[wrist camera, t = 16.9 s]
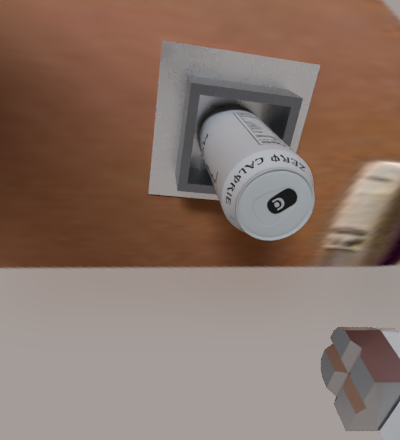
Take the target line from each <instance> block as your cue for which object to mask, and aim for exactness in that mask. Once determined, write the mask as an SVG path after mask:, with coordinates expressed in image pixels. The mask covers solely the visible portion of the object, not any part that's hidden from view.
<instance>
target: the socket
mask: <svg viewBox="0 0 400 440" xmlns="http://www.w3.org/2000/svg"><path fill="white" fill-rule="evenodd" d="M319 69H320V65H318V64H311V63H305V62H298V61H292V60H286V59H279V58H273V57H266V56H260V55H254V54H247V53H241V52H234V51H228V50H222V49H215V48H209V47H202V46H196V45H190V44H183V43H177V42H170V41H164V40H162V50H161V61H160V72H159V83H158V94H157V105H156V116H155V127H154V138H153V149H152V160H151V171H150V182H149V193H148V194H155V195H166V196H177V197H188V198H199V199H210V200H219V199H218V196H217V193H216V191H215V188H214V185H213V183H212V180H211V177H210V175H209V172H208V169H207V167H206V164H205V161H204V159H203V156H202V153H201V151H200V147H199V140H198V139H199V132H200V129H201V126H202V124H203V122H204V121H205V120H206V118H207V117H208V116H209V115H210V114H211V113H212V112H214V111H215V110H217V109H219V108H222V107H225V106H231V105H235V106H241V107H244V108H247V109H248V110H250V111H251V112H253V113H254V114H255V115H256V116H257V117H258V118H259V119H260V120H261V121H262V122H263V123H264V124H265V125H267V126H268V127H269V128H270V129H271V130H272V131H273V132H274V133H275V134H276V135H277V136H278V137H279V138H280V139H281V140H282V141H284V142H285V143H286V144H287V145H288V146H289V147H290V148H291V149H292V150H293V151H294V152H295V153H296V151H297V148H298V144H299V141H300V137H301V133H302V130H303V126H304V123H305V119H306V115H307V112H308V108H309V105H310V101H311V97H312V94H313V90H314V87H315V83H316V79H317V76H318V72H319Z"/></svg>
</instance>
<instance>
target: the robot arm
mask: <svg viewBox="0 0 400 440" xmlns="http://www.w3.org/2000/svg"><path fill="white" fill-rule="evenodd" d="M331 340H332V342H333V344H332V345H331V346H329V347H328V348H327V349H325V351H324V353H323V355H322V358H321V372H322V377H323V380H324V382H325V385H326V387H327V388H328V389H329V390H330V391H331V392H332V393H333V394H335V395H336V399H335V403H334V405H335V407H336V410H337V412H338V414H339V416H340V419H341V421H342V423H343V425H344V428H345V430H346V431H379V434H380V435H381V436H382V437H383V438H384V439H385V440H400V332H399V331H398V330H396V329H395V328H371V327H370V328H368V327H360V328H359V327H338V328H337V329H335V330H334V331H333V333H332V335H331Z"/></svg>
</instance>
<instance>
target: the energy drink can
mask: <svg viewBox="0 0 400 440" xmlns="http://www.w3.org/2000/svg"><path fill="white" fill-rule="evenodd" d="M198 140H199V147H200V151H201V153H202V156H203V159H204V161H205V164H206V167H207V169H208V172H209V175H210V177H211V180H212V183H213V185H214V188H215V191H216V193H217V196H218V199H219V201H220V204H221V207H222V209H223V212H224V214H225V216H226V217H227V219H228V220H229V222H230V223H231V224H232V225H233V226H235V227H236V228H237V229H239V230H241V231H243V232H245V233H247V234H249V235H250V236H252V237H254V238H256V239H260V240H265V241H273V240H279V239H283V238H286V237H288V236H290V235H292V234H294V233H295V232H296V231H298V230H299V229H300V228H301V227H302V226H303V225H304V224H305V223H306V222H307V220H308V219H309V217H310V215H311V213H312V211H313V207H314V200H315V196H314V190H313V188H314V183H313V176H312V173H311V171H310V168H309V167H308V165H307V164H306V163H305V161H304V160H303V159H302V158H300V157H299V156H298V155H297V154H296V153H295V152H294V151H293V150H292V149H291V148H290V147H289V146H288V145H287V144H286V143H285V142H284V141H282V140H281V139H280V138H279V137H278V136H277V135H276V134H275V133H274V132H273V131H272V130H271V129H270V128H269V127H268V126H267V125H265V124H264V123H263V122H262V121H261V120H260V119H259V118H258V117H257V116H256V115H255V114H254V113H253V112H251V111H250V110H248V109H247V108H244V107H241V106H235V105H231V106H225V107H222V108H219V109H217V110H215V111H214V112H212V113H211V114H210V115H209V116H208V117H207V118H206V120H205V121H204V122H203V124H202V126H201V129H200V132H199V139H198Z"/></svg>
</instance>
